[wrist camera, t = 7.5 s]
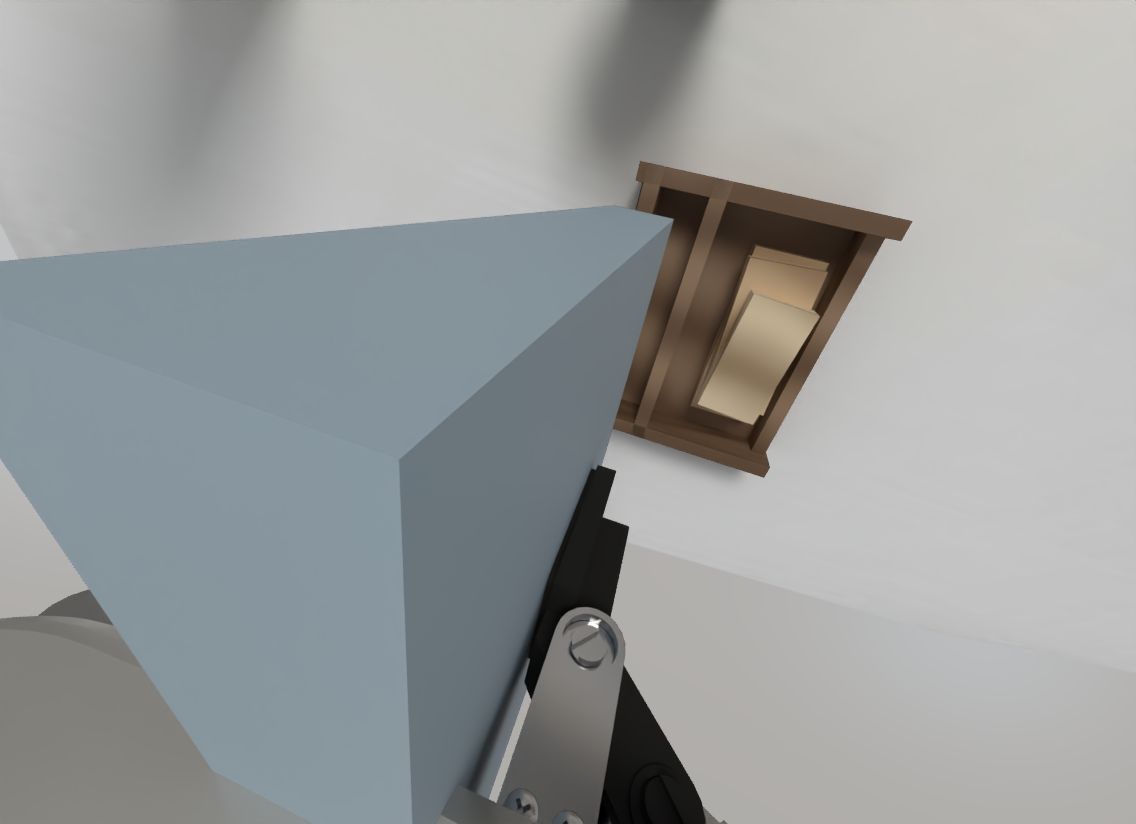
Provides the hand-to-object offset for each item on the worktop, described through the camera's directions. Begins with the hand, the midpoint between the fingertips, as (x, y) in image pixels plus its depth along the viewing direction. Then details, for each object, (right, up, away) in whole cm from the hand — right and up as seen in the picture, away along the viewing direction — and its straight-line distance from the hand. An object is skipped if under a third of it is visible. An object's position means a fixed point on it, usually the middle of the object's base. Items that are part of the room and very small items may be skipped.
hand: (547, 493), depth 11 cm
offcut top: (+13, +6, +16) cm, 21 cm away
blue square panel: (+2, +3, +5) cm, 6 cm away
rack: (+11, +9, +19) cm, 24 cm away
